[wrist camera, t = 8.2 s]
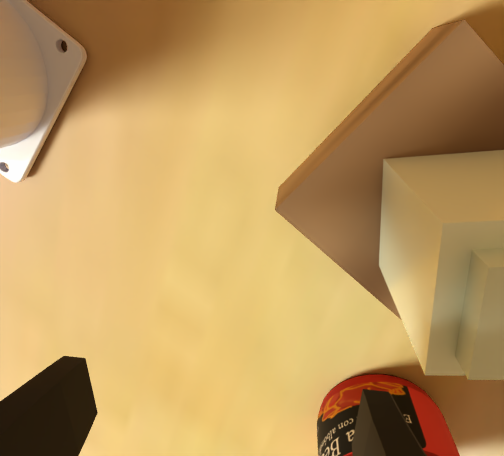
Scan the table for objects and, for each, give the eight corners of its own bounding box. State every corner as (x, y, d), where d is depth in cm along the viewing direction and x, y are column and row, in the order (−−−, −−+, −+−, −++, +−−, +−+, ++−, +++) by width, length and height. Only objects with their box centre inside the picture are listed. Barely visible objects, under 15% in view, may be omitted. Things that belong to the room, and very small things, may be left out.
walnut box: (279, 184, 18) (274, 209, 15) (429, 29, 15) (464, 19, 12) (400, 292, 20) (419, 335, 17) (560, 175, 16) (622, 201, 13)
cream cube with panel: (378, 265, 15) (434, 399, 9) (383, 158, 14) (457, 239, 7) (495, 261, 15) (639, 402, 9) (517, 148, 13) (719, 227, 7)
